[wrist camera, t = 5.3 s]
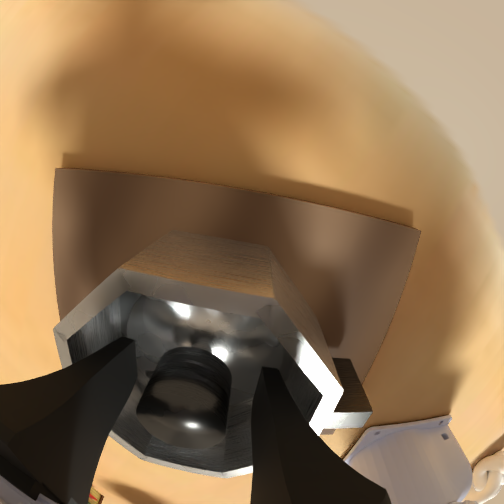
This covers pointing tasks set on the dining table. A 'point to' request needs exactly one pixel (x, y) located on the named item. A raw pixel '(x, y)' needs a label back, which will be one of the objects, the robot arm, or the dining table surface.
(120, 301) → the silver octagonal piece
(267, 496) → the robot arm
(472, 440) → the dining table surface
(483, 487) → the white knot ornament
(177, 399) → the grey knobbed lid
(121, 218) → the serving board
